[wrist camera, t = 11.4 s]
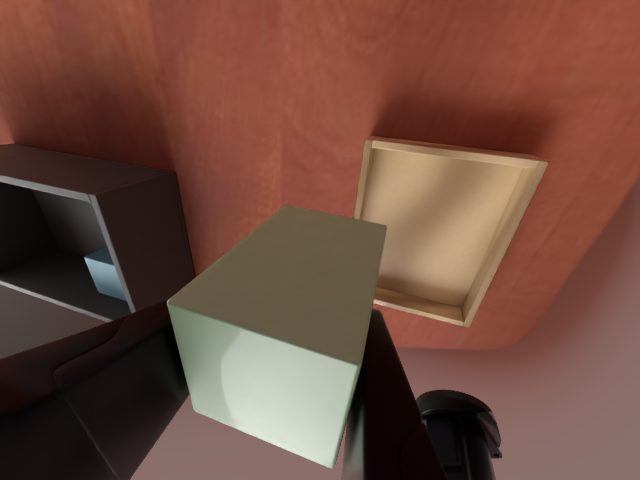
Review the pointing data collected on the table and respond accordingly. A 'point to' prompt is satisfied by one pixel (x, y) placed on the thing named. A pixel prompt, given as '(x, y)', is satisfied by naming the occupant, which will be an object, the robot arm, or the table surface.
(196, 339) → the sage block
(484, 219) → the wooden tray
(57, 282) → the dark grey open box
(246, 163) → the table surface
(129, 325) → the robot arm
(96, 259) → the teal block
